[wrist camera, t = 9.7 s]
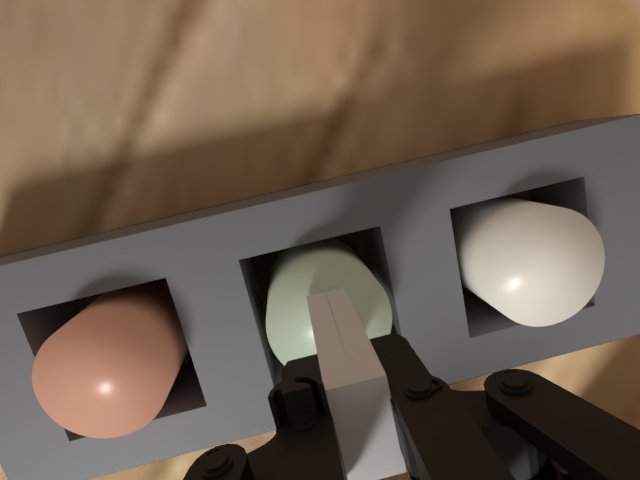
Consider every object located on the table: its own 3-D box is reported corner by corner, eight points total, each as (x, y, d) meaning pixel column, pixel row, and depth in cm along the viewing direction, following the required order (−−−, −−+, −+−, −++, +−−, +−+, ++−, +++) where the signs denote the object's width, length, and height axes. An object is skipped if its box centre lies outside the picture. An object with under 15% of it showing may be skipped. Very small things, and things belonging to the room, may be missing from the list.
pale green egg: (281, 338, 22) (282, 394, 17) (257, 248, 21) (251, 279, 16) (374, 315, 22) (402, 363, 17) (354, 225, 21) (379, 247, 16)
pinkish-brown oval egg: (110, 381, 22) (59, 452, 16) (77, 292, 20) (11, 337, 15) (206, 357, 22) (185, 420, 17) (178, 267, 21) (146, 304, 16)
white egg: (446, 297, 22) (495, 339, 17) (431, 206, 21) (478, 223, 16) (535, 275, 23) (609, 310, 18) (524, 184, 22) (600, 193, 16)
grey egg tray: (62, 437, 22) (16, 498, 18) (-12, 259, 20) (-83, 285, 16) (595, 300, 24) (658, 329, 20) (580, 120, 21) (647, 112, 18)
